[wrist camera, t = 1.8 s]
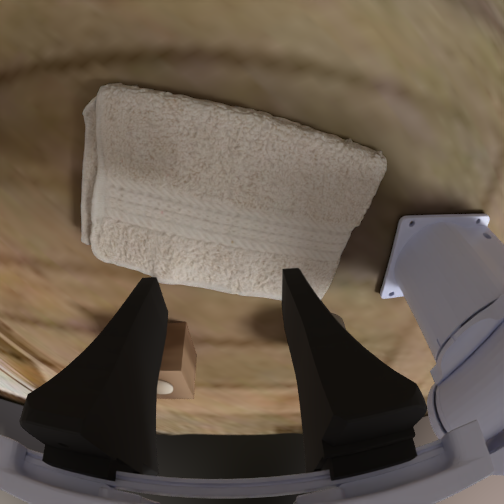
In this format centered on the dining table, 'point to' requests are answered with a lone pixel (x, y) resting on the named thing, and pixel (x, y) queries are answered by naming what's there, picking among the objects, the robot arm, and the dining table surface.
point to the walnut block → (177, 364)
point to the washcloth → (218, 192)
